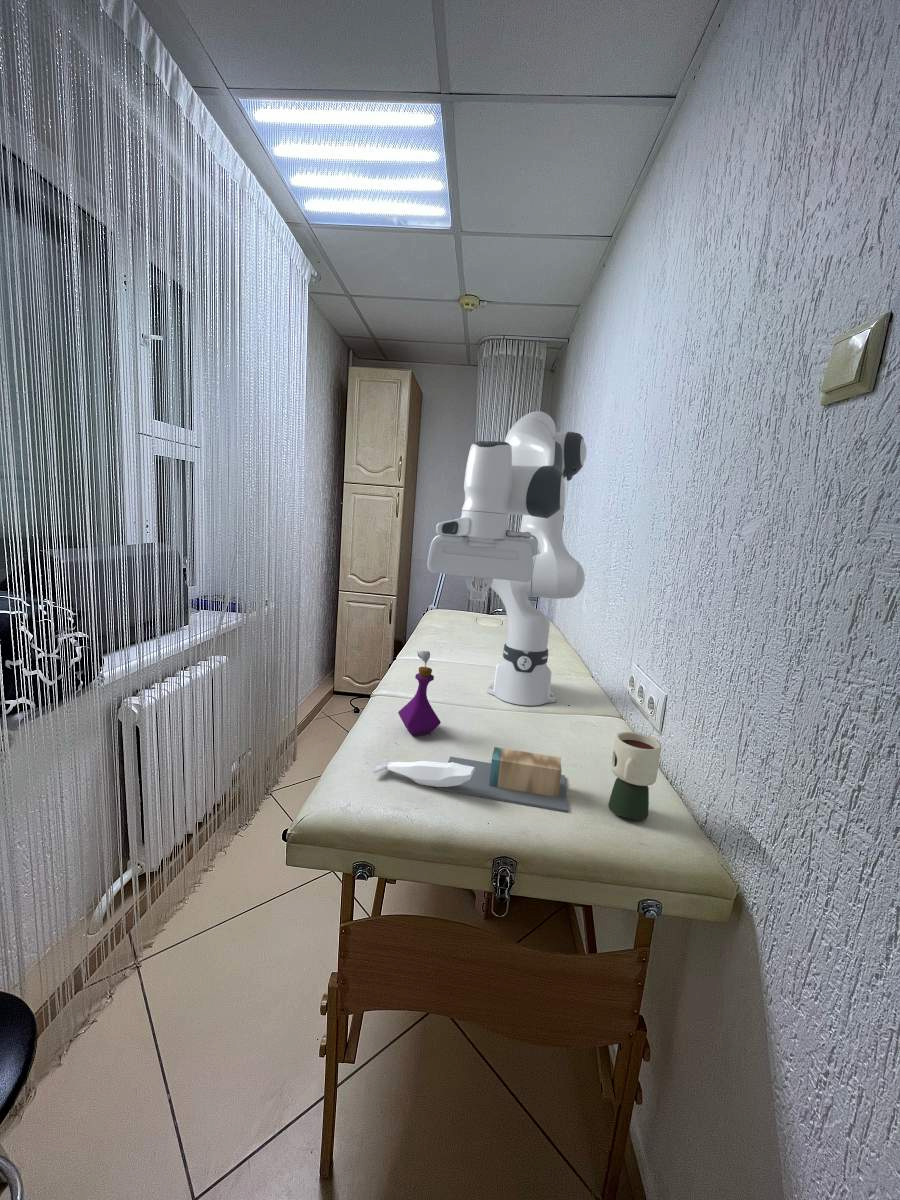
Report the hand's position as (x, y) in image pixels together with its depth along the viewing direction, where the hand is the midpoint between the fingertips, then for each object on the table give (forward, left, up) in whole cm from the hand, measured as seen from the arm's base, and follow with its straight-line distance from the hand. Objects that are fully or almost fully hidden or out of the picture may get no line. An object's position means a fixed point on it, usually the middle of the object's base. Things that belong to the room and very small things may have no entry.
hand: (477, 600), depth 96 cm
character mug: (+13, +30, -31) cm, 45 cm away
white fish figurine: (+15, -5, -31) cm, 35 cm away
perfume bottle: (-6, -11, -31) cm, 34 cm away
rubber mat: (+10, +9, -31) cm, 34 cm away
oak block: (+10, +6, -28) cm, 31 cm away
